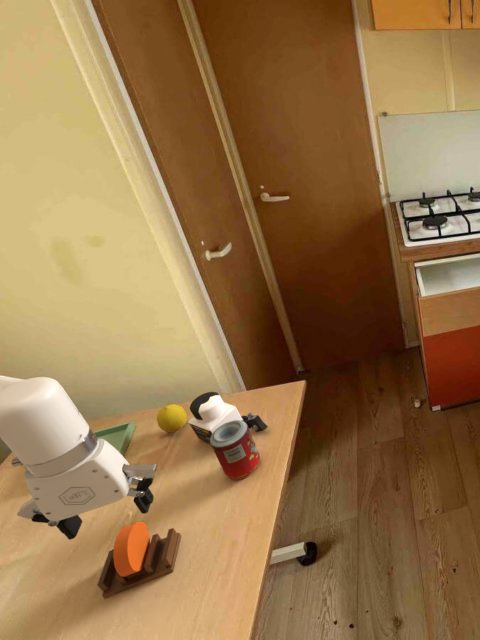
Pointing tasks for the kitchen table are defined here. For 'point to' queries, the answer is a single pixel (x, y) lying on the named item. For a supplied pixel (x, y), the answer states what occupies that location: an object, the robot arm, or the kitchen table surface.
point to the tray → (117, 436)
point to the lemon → (171, 418)
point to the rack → (155, 565)
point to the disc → (131, 549)
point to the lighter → (254, 422)
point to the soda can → (235, 449)
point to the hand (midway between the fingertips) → (113, 518)
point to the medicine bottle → (211, 415)
